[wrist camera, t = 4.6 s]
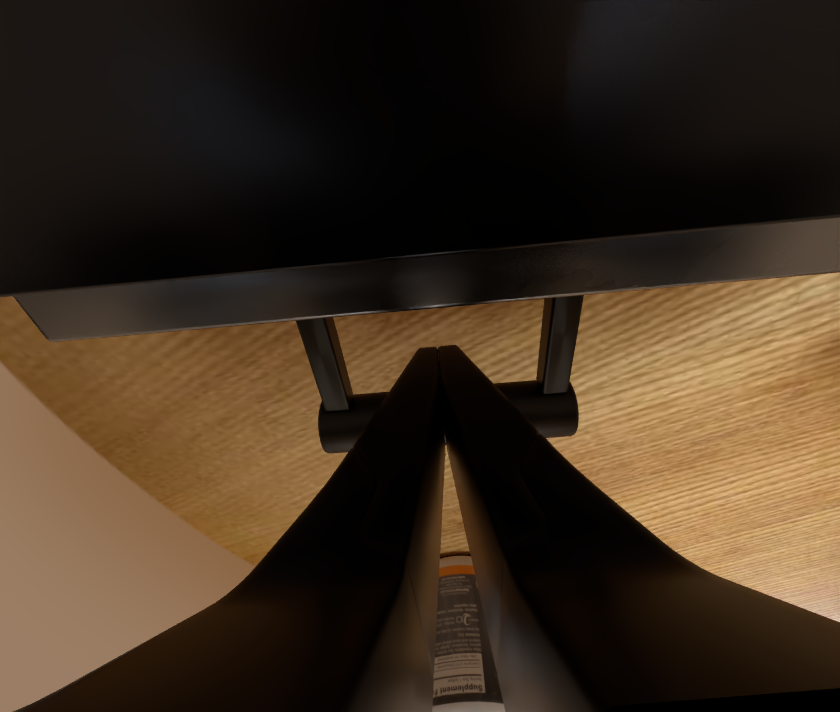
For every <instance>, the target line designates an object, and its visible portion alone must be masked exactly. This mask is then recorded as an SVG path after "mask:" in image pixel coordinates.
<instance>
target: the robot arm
mask: <svg viewBox="0 0 840 712" xmlns="http://www.w3.org/2000/svg"><path fill="white" fill-rule="evenodd" d="M438 358H439V360H438ZM439 370H440V371H439ZM440 382H441V383H440ZM441 393H442V394H441ZM442 405H443V406H442ZM443 416H444V418H443ZM444 427H445V430H444ZM445 437H446V445H447V450H448V455H449V460H450V464H451V469H452V473H453V478H454V482H455V487H456V491H457V496H458V500H459V505H460V509H461V514H462V518H463V523H464V527H465V532H466V536H467V541H468V545H469V550H470V554H471V559H472V563H473V568H474V572H475V577H476V581H477V586H478V590H479V595H480V599H481V604H482V608H483V613H484V617H485V622H486V626H487V631H488V635H489V640H490V644H491V649H492V653H493V658H494V662H495V667H496V671H497V672H498V681H499V685H500V690H501V694H502V699H503V703H504V708H505V712H840V622H837V621H834V620H832V619H829V618H827V617H824V616H821V615H819V614H816V613H813V612H811V611H808V610H806V609H803V608H800V607H798V606H795V605H792V604H790V603H787V602H784V601H782V600H779V599H777V598H774V597H771V596H769V595H766V594H763V593H761V592H758V591H756V590H753V589H750V588H748V587H745V586H742V585H740V584H737V583H735V582H732V581H729V580H727V579H724V578H722V577H719V576H717V575H714V574H712V573H710V572H708V571H706V570H704V569H702V568H700V567H699V566H697V565H695V564H694V563H692V562H690V561H689V560H687V559H685V558H684V557H683V556H681V555H680V554H678V553H677V552H675V551H674V550H673V549H671V548H670V547H669V546H667V545H666V544H665V543H664V542H662V541H661V540H660V539H659V538H657V537H656V536H655V535H654V534H653V533H651V532H650V531H649V530H648V529H647V528H646V527H644V526H643V525H642V524H641V523H640V522H638V521H637V520H636V519H635V518H634V517H632V516H631V515H630V514H629V513H628V512H626V511H625V510H624V509H623V508H622V507H620V506H619V505H618V504H617V503H616V502H614V501H613V500H612V499H611V498H610V497H608V496H607V495H606V494H605V493H604V492H602V491H601V490H600V489H599V488H598V487H597V486H595V485H594V484H593V483H592V482H591V481H590V480H589V479H587V478H586V477H585V476H584V475H583V474H582V473H581V472H579V471H578V470H577V469H576V468H575V467H574V466H573V465H572V464H571V463H570V462H569V461H568V460H567V459H565V458H564V457H563V456H562V455H561V454H560V453H559V452H558V451H557V450H556V449H555V448H554V447H553V446H552V445H551V444H550V442H549V441H548V440H547V439H546V438H545V437H544V436H543V435H542V434H539V431H538V430H537V429H536V428H535V427H534V426H533V425H532V424H531V423H530V422H529V421H528V420H527V418H526V417H525V416H524V415H523V414H522V413H521V412H520V411H519V410H518V409H517V408H516V407H515V406H514V405H513V404H512V403H511V402H510V401H509V400H508V399H507V398H506V396H505V395H504V394H503V393H502V392H501V391H500V390H499V389H498V388H497V387H496V386H495V385H494V384H493V383H492V382H491V381H490V380H489V379H488V378H487V377H486V376H485V374H484V373H483V372H482V371H481V370H480V369H479V368H478V367H477V366H476V365H475V364H474V363H473V362H472V361H471V360H470V359H469V358H468V357H467V356H466V355H465V353H464V352H463V351H462V350H461V349H460V348H459V347H458V346H456V345H448V346H440V347H439V348H438V349H437V348H436V347H425V348H419V349H418V350H417V351H416V353H415V354H414V356H413V357H412V359H411V360H410V362H409V363H408V365H407V366H406V368H405V369H404V371H403V372H402V374H401V375H400V377H399V378H398V380H397V381H396V383H395V384H394V386H393V387H392V389H391V390H390V391H389V393H388V394H387V396H386V397H385V399H384V400H383V402H382V403H381V405H380V406H379V408H378V409H377V411H376V412H375V414H374V415H373V417H372V418H371V420H370V421H369V423H368V424H367V426H366V427H365V429H364V430H363V432H362V433H361V435H360V436H359V438H358V439H357V440H356V442H355V443H354V445H353V448H351V449H350V450H349V452H348V453H347V455H346V456H345V458H344V459H343V461H342V462H341V464H340V465H339V467H338V468H337V469H336V471H335V472H334V474H333V475H332V476H331V478H330V479H329V480H328V482H327V483H326V484H325V486H324V487H323V488H322V489H321V491H320V492H319V493H318V494H317V495H316V497H315V498H314V499H313V500H312V502H311V503H310V504H309V505H308V507H307V508H306V509H305V510H304V511H303V512H302V514H301V515H300V516H299V517H298V518H297V519H296V521H295V522H294V523H293V524H292V525H291V526H290V528H289V529H288V530H287V531H286V532H285V533H284V535H283V536H282V537H281V538H280V539H279V540H278V542H277V543H276V544H275V545H274V546H273V547H272V549H271V550H270V551H269V552H268V553H267V554H266V556H265V557H264V558H263V559H262V560H261V561H260V563H259V564H258V565H257V566H256V567H255V568H254V569H253V570H252V572H251V573H250V574H249V575H248V576H247V577H246V578H245V579H244V580H243V581H242V582H241V583H240V584H239V585H238V586H236V587H235V588H234V589H233V590H232V591H230V592H229V593H228V594H227V595H226V596H224V597H223V598H221V599H220V600H219V601H217V602H216V603H214V604H212V605H211V606H209V607H207V608H206V609H204V610H202V611H200V612H199V613H197V614H195V615H193V616H191V617H190V618H187V619H186V620H184V621H182V622H180V623H178V624H177V625H175V626H173V627H171V628H169V629H168V630H166V631H164V632H162V633H160V634H159V635H157V636H155V637H153V638H151V639H150V640H148V641H146V642H144V643H143V644H141V645H139V646H137V647H135V648H134V649H132V650H130V651H128V652H126V653H125V654H123V655H121V656H119V657H117V658H115V659H114V660H112V661H110V662H108V663H106V664H105V665H103V666H101V667H99V668H97V669H96V670H94V671H92V672H90V673H88V674H87V675H85V676H83V677H81V678H79V679H78V680H76V681H74V682H72V683H70V684H68V685H67V686H65V687H63V688H61V689H59V690H58V691H56V692H54V693H52V694H50V695H48V696H46V697H44V698H42V699H40V700H38V701H36V702H34V703H32V704H30V705H28V706H26V707H23V708H21V709H18V710H16V711H13V712H432V706H433V686H434V677H433V675H434V665H435V645H436V625H437V605H438V585H439V565H440V545H441V525H442V506H443V486H444V466H445Z"/></svg>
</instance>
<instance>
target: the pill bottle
mask: <svg viewBox="0 0 840 712" xmlns="http://www.w3.org/2000/svg"><path fill="white" fill-rule="evenodd" d="M433 677H434V686H433V706H432V712H505V708H504V703H503V699H502V694H501V690H500V685H499V681H498V672H497V671H496V667H495V662H494V658H493V653H492V649H491V644H490V640H489V635H488V631H487V626H486V622H485V617H484V613H483V608H482V604H481V599H480V595H479V590H478V586H477V581H476V577H475V572H474V568H473V563H472V559H471V556H450V557H444V558H441V559H440V565H439V585H438V605H437V625H436V645H435V665H434V675H433Z"/></svg>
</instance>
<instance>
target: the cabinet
mask: <svg viewBox="0 0 840 712" xmlns="http://www.w3.org/2000/svg"><path fill="white" fill-rule="evenodd" d="M829 218H840V0H0V297H8V296H18V295H29V294H40V293H50V292H61V291H71V290H82V289H92V288H103V287H113V286H124V285H134V284H145V283H155V282H166V281H176V280H187V279H197V278H208V277H219V276H229V275H240V274H250V273H261V272H271V271H282V270H292V269H303V268H313V267H324V266H334V265H345V264H355V263H366V262H377V261H387V260H398V259H408V258H419V257H429V256H440V255H450V254H461V253H471V252H482V251H492V250H503V249H513V248H524V247H534V246H545V245H556V244H566V243H577V242H587V241H598V240H608V239H619V238H629V237H640V236H650V235H661V234H671V233H682V232H692V231H703V230H713V229H724V228H735V227H745V226H756V225H766V224H777V223H787V222H798V221H808V220H819V219H829Z"/></svg>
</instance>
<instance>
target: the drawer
mask: <svg viewBox="0 0 840 712" xmlns="http://www.w3.org/2000/svg"><path fill="white" fill-rule="evenodd" d="M837 272H840V218H829V219H819V220H808V221H798V222H787V223H777V224H766V225H756V226H745V227H735V228H724V229H713V230H703V231H692V232H682V233H671V234H661V235H650V236H640V237H629V238H619V239H608V240H598V241H587V242H577V243H566V244H556V245H545V246H534V247H524V248H513V249H503V250H492V251H482V252H471V253H461V254H450V255H440V256H429V257H419V258H408V259H398V260H387V261H377V262H366V263H355V264H345V265H334V266H324V267H313V268H303V269H292V270H282V271H271V272H261V273H250V274H240V275H229V276H219V277H208V278H197V279H187V280H176V281H166V282H155V283H145V284H134V285H124V286H113V287H103V288H92V289H82V290H71V291H61V292H50V293H40V294H29V295H18V296H13V297H14V298H15V299H16V301H17V302H18V303H19V304H20V306H21V307H22V308H23V310H24V311H25V312H26V313H27V315H28V316H29V317H30V318H31V320H32V321H33V322H34V323H35V325H36V326H37V327H38V329H39V330H40V331H41V332H42V334H43V335H44V336H45V337H46V339H48V340H49V341H52V342H58V341H70V340H81V339H92V338H104V337H115V336H126V335H137V334H149V333H160V332H171V331H183V330H194V329H205V328H216V327H228V326H239V325H250V324H262V323H273V322H284V321H295V320H296V322H297V325H298V329H299V332H300V335H301V338H302V341H303V344H304V347H305V350H306V353H307V356H308V359H309V362H310V365H311V368H312V371H313V374H314V377H315V380H316V383H317V386H318V389H319V393H320V396H321V399H322V402H321V405H320V409H319V417H318V429H319V437H320V441H321V445H322V447H323V449H324V451H325V452H327V453H342V452H349V450H350V449H351V448H353V445H354V443H355V442H356V440H357V439H358V438H359V436H360V435H361V433H362V432H363V430H364V429H365V427H366V426H367V424H368V423H369V421H370V420H371V418H372V417H373V415H374V414H375V412H376V411H377V409H378V408H379V406H380V405H381V403H382V402H383V400H384V399H385V397H386V396H387V394H388V393H389V392H380V393H367V394H355V395H353V392H352V388H351V384H350V380H349V376H348V372H347V369H346V365H345V361H344V357H343V353H342V350H341V346H340V342H339V338H338V334H337V330H336V327H335V323H334V319H333V317H341V316H352V315H363V314H374V313H386V312H397V311H408V310H420V309H431V308H442V307H453V306H465V305H476V304H487V303H499V302H510V301H521V300H532V299H544V298H545V299H544V309H543V319H542V329H541V338H540V348H539V358H538V368H537V377H536V379H537V380H532V381H520V382H507V383H494V385H495V386H496V387H497V388H498V389H499V390H500V391H501V392H502V393H503V394H504V395H505V396H506V398H507V399H508V400H509V401H510V402H511V403H512V404H513V405H514V406H515V407H516V408H517V409H518V410H519V411H520V412H521V413H522V414H523V415H524V416H525V417H526V418H527V420H528V421H529V422H530V423H531V424H532V425H533V426H534V427H535V428H536V429H537V430H538V431H539V434H542V435H543V436H544V437H545V438H551V437H565V436H572V435H574V434H575V433H576V431H577V428H578V420H579V412H578V403H577V398H576V395H575V392H574V389H573V387H572V385H571V383H570V381H569V380H570V374H571V368H572V362H573V356H574V351H575V345H576V339H577V333H578V327H579V321H580V315H581V309H582V303H583V297H584V295H589V294H600V293H611V292H623V291H634V290H645V289H657V288H668V287H679V286H690V285H702V284H713V283H724V282H736V281H747V280H758V279H769V278H781V277H792V276H803V275H815V274H826V273H837ZM441 394H442V393H441ZM442 406H443V405H442ZM443 418H444V416H443ZM444 430H445V427H444ZM445 445H446V437H445Z"/></svg>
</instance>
